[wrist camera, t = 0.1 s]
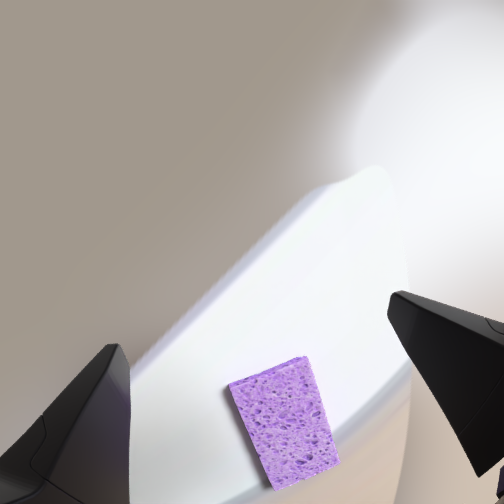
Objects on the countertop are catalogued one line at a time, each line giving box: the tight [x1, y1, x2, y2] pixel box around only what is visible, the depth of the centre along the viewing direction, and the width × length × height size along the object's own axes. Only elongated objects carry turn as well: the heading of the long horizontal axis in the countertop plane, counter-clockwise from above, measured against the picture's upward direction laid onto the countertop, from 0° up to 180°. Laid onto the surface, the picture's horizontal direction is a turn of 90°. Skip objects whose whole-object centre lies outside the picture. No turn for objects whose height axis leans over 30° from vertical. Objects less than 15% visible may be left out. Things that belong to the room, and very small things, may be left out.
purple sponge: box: [229, 356, 341, 491], centre depth 21 cm, size 7×13×2 cm, turn 19°
